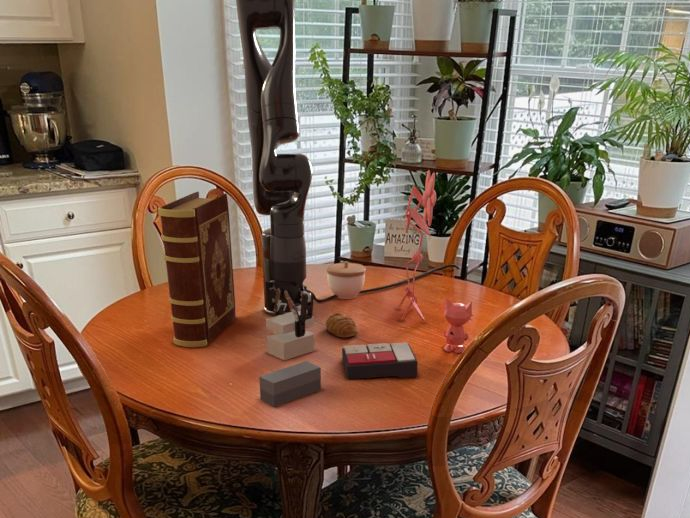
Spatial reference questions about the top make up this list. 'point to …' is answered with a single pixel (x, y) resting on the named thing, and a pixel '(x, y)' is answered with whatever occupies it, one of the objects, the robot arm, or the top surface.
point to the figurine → (428, 203)
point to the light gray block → (290, 345)
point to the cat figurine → (456, 324)
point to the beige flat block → (285, 323)
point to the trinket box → (346, 279)
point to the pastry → (341, 325)
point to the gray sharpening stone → (290, 383)
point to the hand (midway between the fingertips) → (290, 332)
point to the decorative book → (198, 267)
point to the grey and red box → (379, 360)
